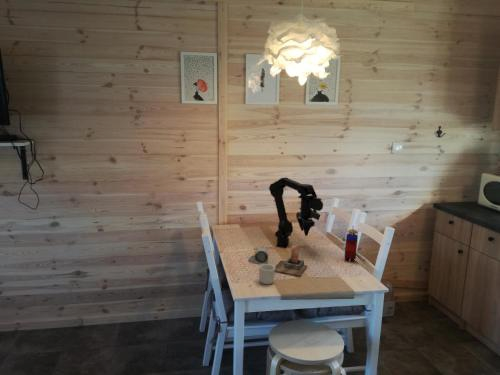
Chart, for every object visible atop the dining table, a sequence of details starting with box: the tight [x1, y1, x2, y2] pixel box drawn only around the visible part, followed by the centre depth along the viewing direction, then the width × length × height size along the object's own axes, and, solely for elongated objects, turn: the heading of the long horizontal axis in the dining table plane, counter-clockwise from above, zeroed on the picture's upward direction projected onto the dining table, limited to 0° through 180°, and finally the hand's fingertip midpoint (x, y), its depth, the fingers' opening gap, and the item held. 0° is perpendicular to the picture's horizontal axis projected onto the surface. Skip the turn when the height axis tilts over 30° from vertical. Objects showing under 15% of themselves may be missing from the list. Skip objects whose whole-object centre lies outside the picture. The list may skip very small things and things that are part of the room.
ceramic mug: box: [248, 246, 269, 265], centre depth 218 cm, size 11×8×8 cm
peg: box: [290, 244, 300, 265], centre depth 210 cm, size 4×4×11 cm
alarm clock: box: [341, 225, 359, 263], centre depth 225 cm, size 15×9×20 cm, turn 163°
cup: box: [258, 263, 276, 285], centre depth 195 cm, size 11×8×8 cm
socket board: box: [274, 257, 308, 278], centre depth 209 cm, size 15×14×4 cm
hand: (304, 233), depth 228 cm, fingers open, 9 cm apart
